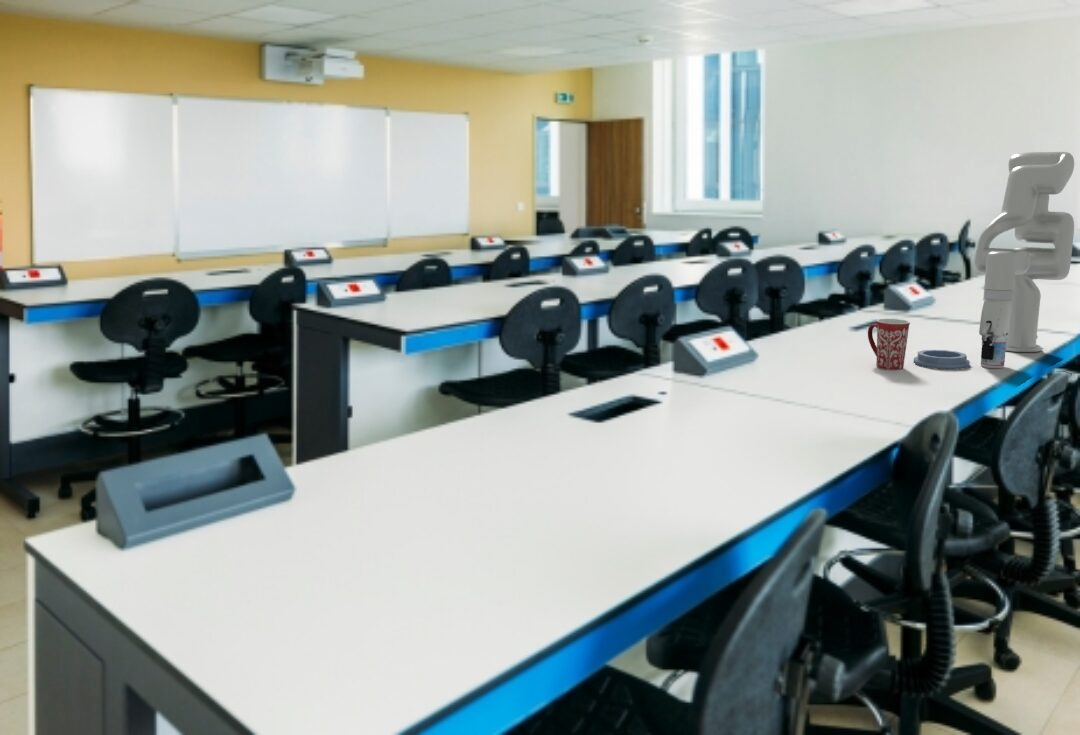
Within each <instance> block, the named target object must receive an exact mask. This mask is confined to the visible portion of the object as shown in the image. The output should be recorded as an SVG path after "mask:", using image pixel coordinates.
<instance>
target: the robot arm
mask: <svg viewBox="0 0 1080 735" xmlns="http://www.w3.org/2000/svg"><path fill="white" fill-rule="evenodd" d="M1074 169H1075V160H1074V157H1073V155H1072V154H1071V153H1070V152H1068V151H1045V152H1044V151H1035V152H1033V151H1032V152H1020V153H1016V154H1013V155H1012V156H1010V158H1009V161H1008V172H1009V174H1008V177H1007V183H1006V188H1005V192H1004V197H1003V202H1002V206H1001V212H1000V214H999V215H998V216H997V217H995V218H994V219H993V220H991V222H989V224H987V226H986V227H985V228H984V229H983V231H982V232H981V234H980V235H979V237H978V240H977V246H976V251H975V254H974V261H973V262H974V264H973V265H974V268H975V270H976V271H977V273H980V274H982V275H985V276H984V288H983V299H982V300H983V301H984V302H983V305H982V307H981V315H980V322H979V329H978V334H979V335H980V336H981V351H980V359H981V358H982V359H987V360H993V357H994V346H993V344H994V340H995V337H997V336H1000V335H1003V336H1004V337H1005V338H1006V350H1005V352H1014V353H1036V352H1038V353H1039V352H1041V351H1042V346H1041V345H1039V344H1037V340H1038V328H1039V317H1040V316H1039V315H1040V306H1041V297H1042V296H1041V292H1040V291H1041V290H1040V289H1039V287H1038V285H1037V284H1036V283H1035V282H1034V280H1043V281H1044V280H1046V281H1047V280H1048V281H1061V280H1065V278H1067V277H1068V276H1069V273H1070V270H1071V264H1072V253H1073V243H1074V236H1075V235H1074V234H1075V221H1074V220H1075V219H1074V217H1073V216H1072V214H1071V213H1069V212H1066V211H1049V202H1050V195H1053V196H1054V195H1058V194H1060V193H1062V192H1063V190H1064V189H1065V187H1066V185H1067V183H1068V182H1069V180H1070V179H1071V177H1072V175H1073V172H1074ZM1013 229H1014V236H1015V239H1016V240H1017V241H1018V242H1021V243H1030V244H1050V245H1051V244H1052V245H1053V246H1054V247H1049V248H1048V247H1034V246H1032V247H1028V246H1023V247H1022V246H1021V247H1016V248H1003V247H1002V248H1001V247H1000V248H999V247H990V246H991V244H992V242H993V240H995V239H996V238H997V237H998V236H1000V235H1002V234H1003V233H1005V232H1008V231H1010V230H1013ZM1003 330H1004V334H1002V331H1003ZM988 333H989V334H988ZM991 334H993V335H991ZM990 338H991V340H990Z"/></svg>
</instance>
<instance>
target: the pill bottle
mask: <svg viewBox="0 0 1080 735" xmlns="http://www.w3.org/2000/svg"><path fill="white" fill-rule="evenodd" d="M988 334H989V333H988ZM1002 334H1004V330H1003V331H1002ZM991 335H993V334H991ZM990 340H991V338H990ZM993 346H994V357H993V360H987V359H982V358H981V357H980V366H981V367H982V368H987V369H1003V368H1005V361H1006V360H1005V359H1006V351H1005V350H1006V338H1005V337H1004V336H1003V335H1000V336H997V337H995V340H994V344H993Z"/></svg>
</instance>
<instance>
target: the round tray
mask: <svg viewBox="0 0 1080 735" xmlns="http://www.w3.org/2000/svg"><path fill="white" fill-rule="evenodd" d="M914 363H915V364H914ZM913 364H914V365H916V366H918V365H919V367H922V366H923V368H927V367H929V368H930V369H935V368H937V370H963V369H962V368H964V369H968V368H969V367H970V364H971V361H970V360H968V356H967V354H966V353H963V352H959V351H956V350H947V349H927V350H926V349H925V350H920V351H917V356H915V357H914V358H913ZM967 367H968V368H967Z"/></svg>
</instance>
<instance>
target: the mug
mask: <svg viewBox="0 0 1080 735" xmlns="http://www.w3.org/2000/svg"><path fill="white" fill-rule="evenodd" d="M910 324H911V321H909V320H907V319H901V318H900V319H899V318H879V319H876V323H873V324H870V325H869V327H868V330H867V339H868V342H869V344H870V347H871V349H872V351H873V354H874V355H875V356H876V367H877V368H878V369H881V370H888V371H898V370H904V366H905V358H906V351H907V344H908V337H909V329H910ZM874 328H876V343H875V340H874V337H873V331H874Z"/></svg>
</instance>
